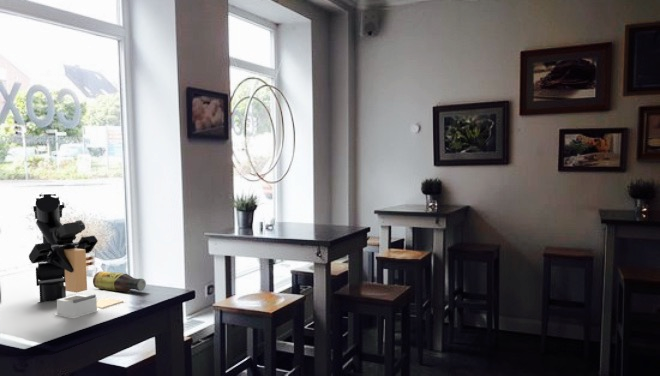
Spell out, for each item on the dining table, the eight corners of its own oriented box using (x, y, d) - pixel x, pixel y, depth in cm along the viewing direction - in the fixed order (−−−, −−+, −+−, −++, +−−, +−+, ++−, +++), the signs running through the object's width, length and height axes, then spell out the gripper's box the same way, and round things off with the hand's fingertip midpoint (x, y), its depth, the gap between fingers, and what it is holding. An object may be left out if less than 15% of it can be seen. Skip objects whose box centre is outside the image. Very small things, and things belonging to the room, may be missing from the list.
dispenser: (53, 317, 143) (52, 297, 143) (106, 301, 159) (106, 283, 159) (73, 321, 139) (72, 301, 139) (126, 304, 155) (125, 286, 154)
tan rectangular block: (65, 290, 144) (63, 250, 144) (76, 288, 147) (74, 248, 147) (76, 292, 142) (74, 251, 141) (87, 289, 145) (85, 249, 144)
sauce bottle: (105, 270, 179) (150, 274, 172) (104, 287, 178) (149, 292, 172) (91, 271, 173) (136, 276, 166) (90, 289, 172) (135, 294, 166)
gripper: (32, 215, 137) (59, 258, 132) (92, 209, 153) (118, 247, 149) (17, 242, 141) (42, 284, 136) (77, 233, 157) (101, 270, 153)
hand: (78, 270), depth 143 cm, fingers closed on tan rectangular block, 3 cm apart
